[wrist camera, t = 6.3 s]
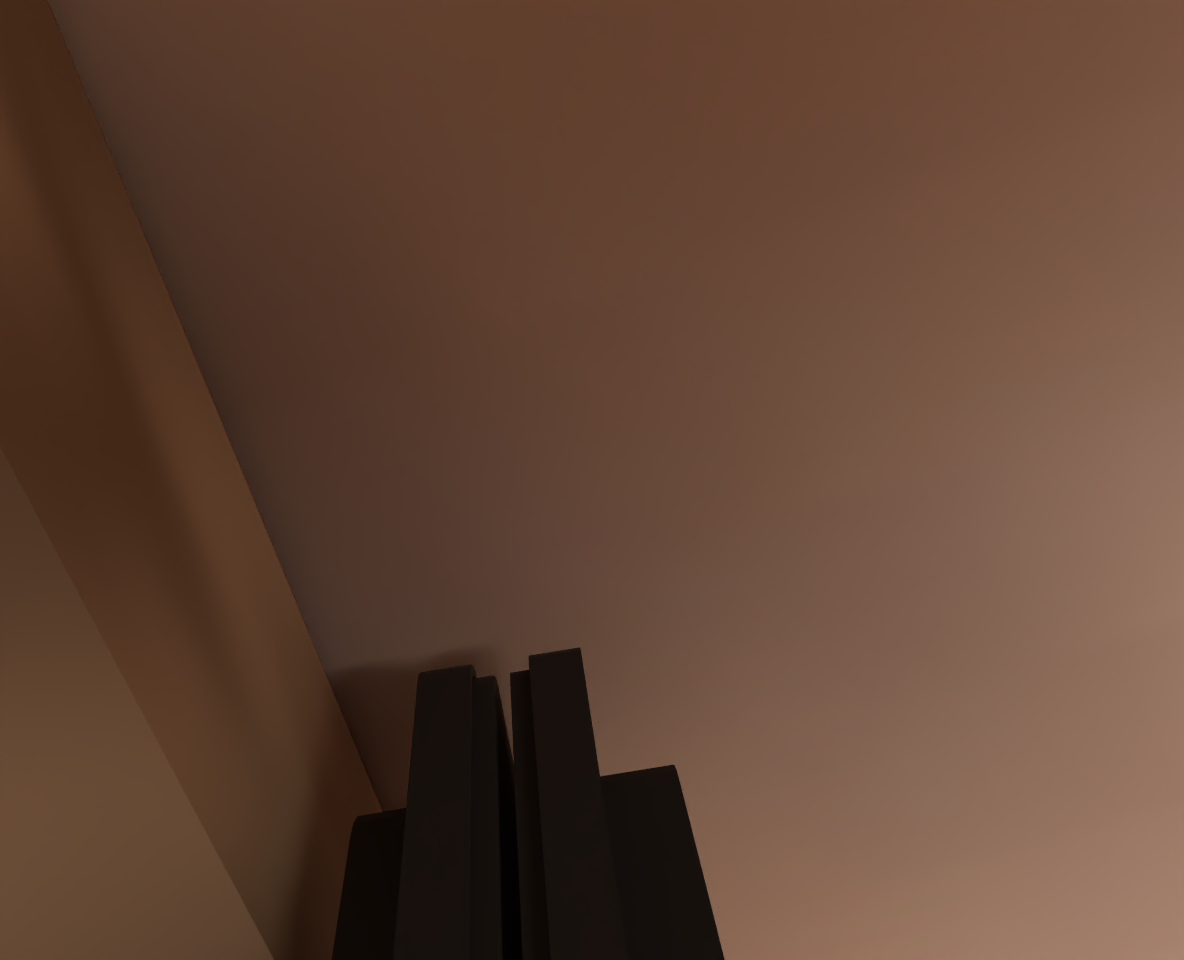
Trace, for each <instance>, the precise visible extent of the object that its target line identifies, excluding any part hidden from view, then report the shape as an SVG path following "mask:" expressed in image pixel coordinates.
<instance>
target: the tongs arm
mask: <svg viewBox="0 0 1184 960" xmlns="http://www.w3.org/2000/svg"><path fill="white" fill-rule="evenodd" d="M379 812H383V811H382V809H381V806H380V804H379V802H378V799H377V797H376V794H375V792H374V790H373V787H372V785H371V782H370V780H369V777H368V775H367V773H366V770H365V768H364V765H363V763H362V760H361V758H360V756H359V753H358V751H357V748H356V746H355V744H354V741H353V739H352V736H351V734H350V731H349V729H348V727H347V724H346V722H345V719H344V717H343V715H342V712H341V710H340V707H339V705H338V702H337V700H336V698H335V695H334V693H333V690H332V688H331V685H330V683H329V681H328V678H327V676H326V673H325V671H324V669H323V666H322V664H321V661H320V659H319V656H318V654H317V652H316V649H315V647H314V644H313V642H312V640H311V637H310V635H309V632H308V630H307V627H306V625H305V623H304V620H303V618H302V615H301V613H300V610H299V608H298V606H297V603H296V601H295V598H294V596H293V594H292V591H291V589H290V586H289V584H288V581H287V579H286V577H285V574H284V572H283V569H282V567H281V565H280V562H279V560H278V557H277V555H276V552H275V550H274V548H273V545H272V543H271V540H270V538H269V535H268V533H267V531H266V528H265V526H264V523H263V521H262V519H261V516H260V514H259V511H258V509H257V506H256V504H255V502H254V499H253V497H252V494H251V492H250V489H249V487H248V485H247V482H246V480H245V477H244V475H243V473H242V470H241V468H240V465H239V463H238V460H237V458H236V456H235V453H234V451H233V448H232V446H231V444H230V441H229V439H228V436H227V434H226V431H225V429H224V427H223V424H222V422H221V419H220V417H219V414H218V412H217V410H216V407H215V405H214V402H213V400H212V398H211V395H210V393H209V390H208V388H207V385H206V383H205V381H204V378H203V376H202V373H201V371H200V369H199V366H198V364H197V361H196V359H195V356H194V354H193V352H192V349H191V347H190V344H189V342H188V339H187V337H186V335H185V332H184V330H183V327H182V325H181V323H180V320H179V318H178V315H177V313H176V310H175V308H174V306H173V303H172V301H171V298H170V296H169V294H168V291H167V289H166V286H165V284H164V281H163V279H162V277H161V274H160V272H159V269H158V267H157V264H156V262H155V260H154V257H153V255H152V252H151V250H150V248H149V245H148V243H147V240H146V238H145V235H144V233H143V231H142V228H141V226H140V223H139V221H138V219H137V216H136V214H135V211H134V209H133V206H132V204H131V202H130V199H129V197H128V194H127V192H126V189H125V187H124V185H123V182H122V180H121V177H120V175H119V173H118V170H117V168H116V165H115V163H114V160H113V158H112V156H111V153H110V151H109V148H108V146H107V144H106V141H105V139H104V136H103V134H102V131H101V129H100V127H99V124H98V122H97V119H96V117H95V114H94V112H93V110H92V107H91V105H90V102H89V100H88V98H87V95H86V93H85V90H84V88H83V85H82V83H81V81H80V78H79V76H78V73H77V71H76V68H75V66H74V64H73V61H72V59H71V56H70V54H69V52H68V49H67V47H66V44H65V42H64V39H63V37H62V35H61V32H60V30H59V27H58V25H57V23H56V20H55V18H54V15H53V13H52V10H51V8H50V6H49V3H48V1H47V0H0V960H332V953H333V946H334V940H335V933H336V927H337V920H338V913H339V907H340V900H341V894H342V887H343V881H344V874H345V867H346V861H347V854H348V848H349V841H350V835H351V831H352V827H353V823H354V821H355V819H356V818H357V816H361V815H367V814H373V813H379Z"/></svg>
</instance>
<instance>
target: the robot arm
mask: <svg viewBox="0 0 1184 960" xmlns="http://www.w3.org/2000/svg"><path fill="white" fill-rule="evenodd" d="M529 669H530V670H525V671H519V672H513V673H510V686H511V709H512V731H513V753H514V763H513V758H512V753H511V748H510V744H509V739H508V734H507V729H506V724H505V719H504V714H503V709H502V704H501V699H500V694H499V689H498V684H497V680H496V677H495V676H488V677H481V678H477V676H476V672H475V669H474V666H473V665H466V666H460V667H454V668H447V669H441V670H434V671H428V672H422V673H420V674H419V677H418V683H417V694H416V706H415V717H414V728H413V739H412V751H411V762H410V773H409V784H408V796H407V807H406V808H404V809H398V810H392V811H386V812H379V813H373V814H367V815H361V816H357V818H356V819H355V821H354V823H353V827H352V831H351V835H350V841H349V848H348V854H347V861H346V867H345V874H344V881H343V887H342V894H341V900H340V907H339V913H338V920H337V927H336V933H335V940H334V946H333V953H332V960H724V956H723V952H722V948H721V944H720V940H719V936H718V932H717V928H716V924H715V920H714V916H713V912H712V908H711V904H710V900H709V896H708V892H707V888H706V884H705V880H704V876H703V872H702V868H701V864H700V860H699V856H698V852H697V848H696V844H695V840H694V836H693V833H692V829H691V825H690V821H689V817H688V813H687V809H686V805H685V801H684V797H683V793H682V789H681V785H680V781H679V777H678V774H677V770H676V768H675V766H674V765H669V766H663V767H656V768H650V769H644V770H638V771H632V772H626V773H619V774H613V775H607V776H601V777H600V774H599V767H598V761H597V754H596V747H595V741H594V734H593V728H592V721H591V715H590V708H589V702H588V695H587V688H586V682H585V675H584V669H583V662H582V656H581V649H580V648H574V649H568V650H561V651H555V652H549V653H542V654H536V655H530V656H529Z"/></svg>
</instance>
